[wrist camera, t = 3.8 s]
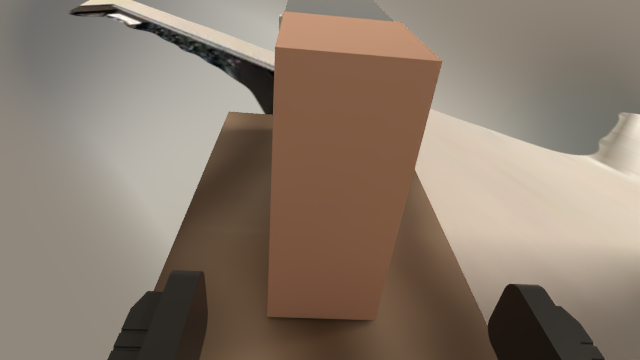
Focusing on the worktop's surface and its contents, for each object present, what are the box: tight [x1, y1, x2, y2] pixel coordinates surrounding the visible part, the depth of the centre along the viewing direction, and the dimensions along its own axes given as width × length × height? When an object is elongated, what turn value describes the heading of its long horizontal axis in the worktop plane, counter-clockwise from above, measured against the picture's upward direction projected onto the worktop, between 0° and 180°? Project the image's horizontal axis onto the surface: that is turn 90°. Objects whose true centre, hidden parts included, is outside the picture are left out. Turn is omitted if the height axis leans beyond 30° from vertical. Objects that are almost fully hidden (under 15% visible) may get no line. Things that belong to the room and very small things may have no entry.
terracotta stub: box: [267, 11, 442, 320], centre depth 17 cm, size 5×6×12 cm
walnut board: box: [154, 112, 498, 360], centre depth 25 cm, size 16×32×2 cm, turn 2°
